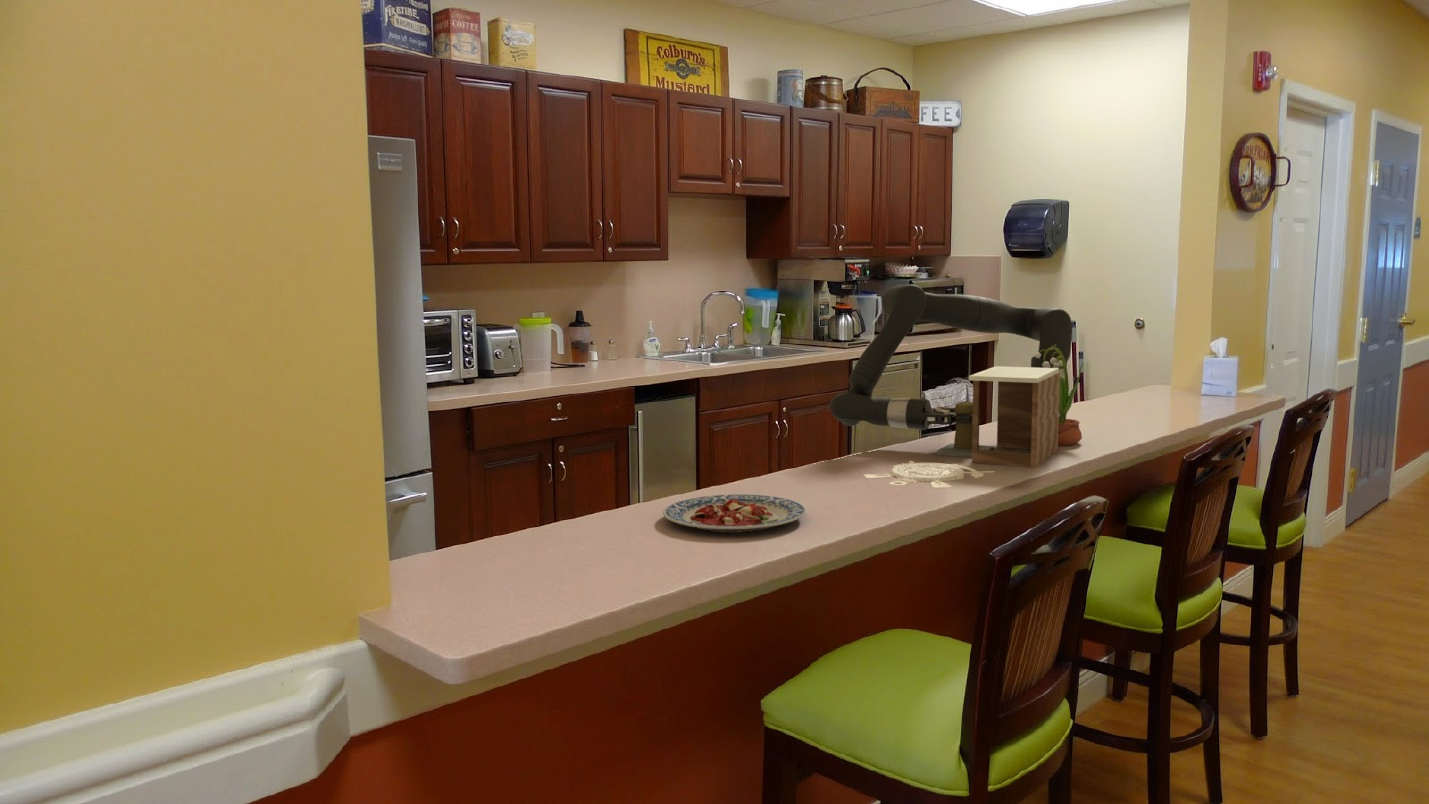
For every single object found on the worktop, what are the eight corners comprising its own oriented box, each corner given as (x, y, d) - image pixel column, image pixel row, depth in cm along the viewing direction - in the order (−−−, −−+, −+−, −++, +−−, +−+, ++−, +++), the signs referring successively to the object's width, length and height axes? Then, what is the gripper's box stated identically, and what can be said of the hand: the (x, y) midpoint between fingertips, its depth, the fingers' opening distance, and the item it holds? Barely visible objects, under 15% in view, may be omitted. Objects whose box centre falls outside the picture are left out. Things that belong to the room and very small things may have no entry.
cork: (962, 440, 253) (961, 397, 250) (984, 444, 249) (983, 400, 246) (948, 447, 249) (947, 403, 246) (970, 451, 244) (969, 406, 242)
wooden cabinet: (994, 445, 256) (995, 366, 253) (1057, 450, 249) (1059, 368, 246) (967, 462, 235) (968, 375, 233) (1036, 467, 228) (1038, 378, 225)
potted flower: (1032, 445, 255) (1034, 345, 252) (1031, 439, 265) (1034, 342, 261) (1082, 447, 252) (1085, 346, 248) (1080, 440, 261) (1083, 343, 258)
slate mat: (950, 447, 255) (950, 443, 255) (994, 450, 250) (994, 446, 249) (936, 454, 245) (936, 450, 245) (982, 458, 240) (982, 453, 240)
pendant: (1002, 472, 226) (1002, 465, 226) (939, 494, 206) (939, 488, 205) (917, 461, 240) (917, 455, 240) (850, 481, 220) (850, 475, 220)
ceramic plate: (635, 520, 188) (635, 504, 187) (744, 499, 203) (744, 484, 203) (722, 548, 167) (722, 530, 167) (835, 522, 183) (835, 506, 182)
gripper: (899, 402, 247) (969, 406, 238) (918, 395, 259) (985, 398, 251) (899, 432, 248) (968, 437, 239) (918, 424, 260) (984, 428, 252)
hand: (976, 417), depth 245 cm, fingers open, 5 cm apart
